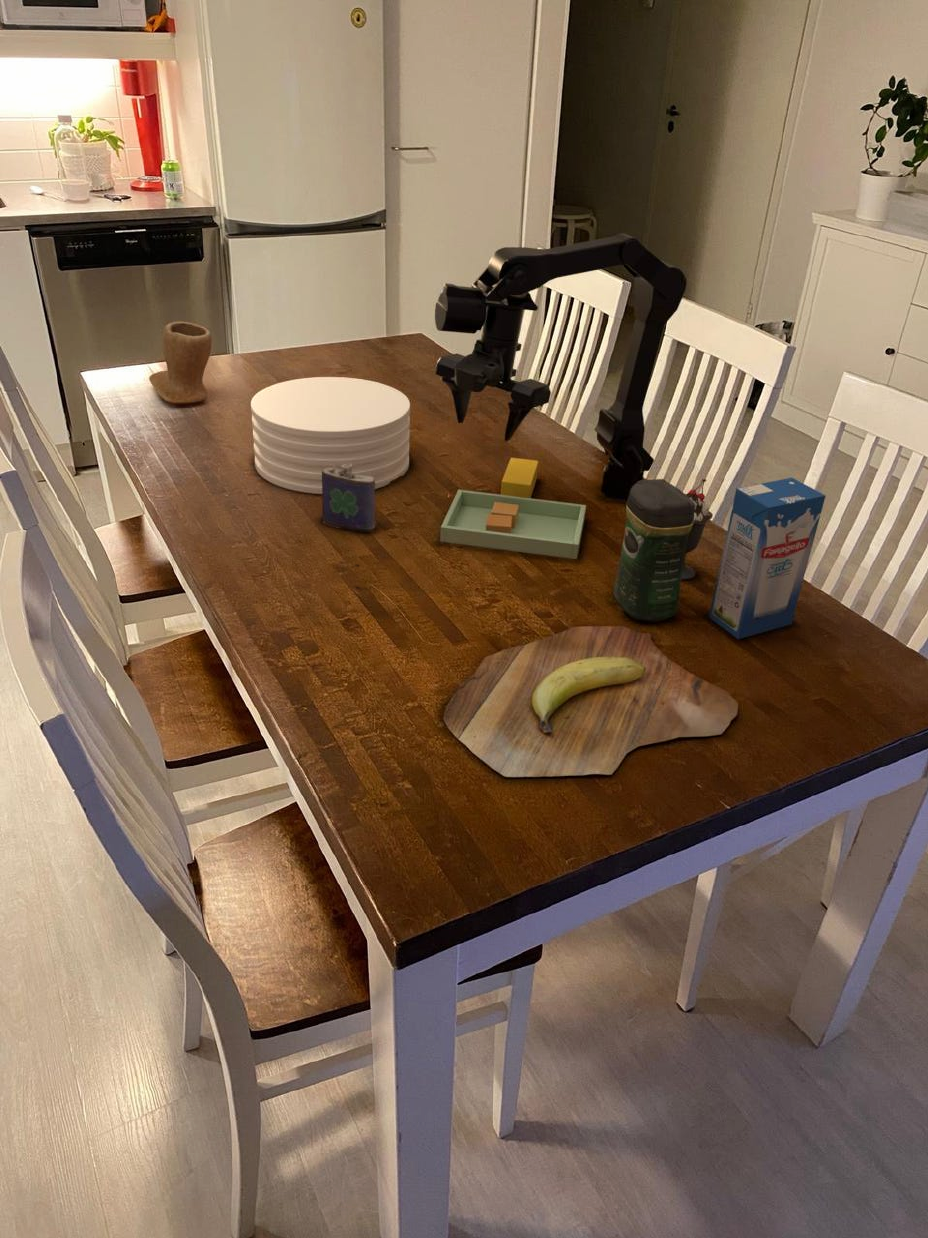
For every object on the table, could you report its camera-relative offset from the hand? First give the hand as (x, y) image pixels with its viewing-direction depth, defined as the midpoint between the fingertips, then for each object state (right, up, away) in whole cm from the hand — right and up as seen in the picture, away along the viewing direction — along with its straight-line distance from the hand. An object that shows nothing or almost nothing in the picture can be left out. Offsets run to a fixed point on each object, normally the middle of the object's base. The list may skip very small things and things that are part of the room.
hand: (483, 431), depth 158 cm
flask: (-22, -16, -1) cm, 27 cm away
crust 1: (+3, -15, +2) cm, 15 cm away
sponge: (+7, -8, +14) cm, 17 cm away
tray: (+5, -16, 0) cm, 17 cm away
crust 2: (+2, -17, -2) cm, 17 cm away
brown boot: (-62, +17, +47) cm, 80 cm away
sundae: (+30, -23, -9) cm, 39 cm away
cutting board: (+11, -41, -38) cm, 57 cm away
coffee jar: (+23, -29, -18) cm, 41 cm away
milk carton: (+37, -31, -20) cm, 52 cm away
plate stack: (-27, -2, +21) cm, 34 cm away
